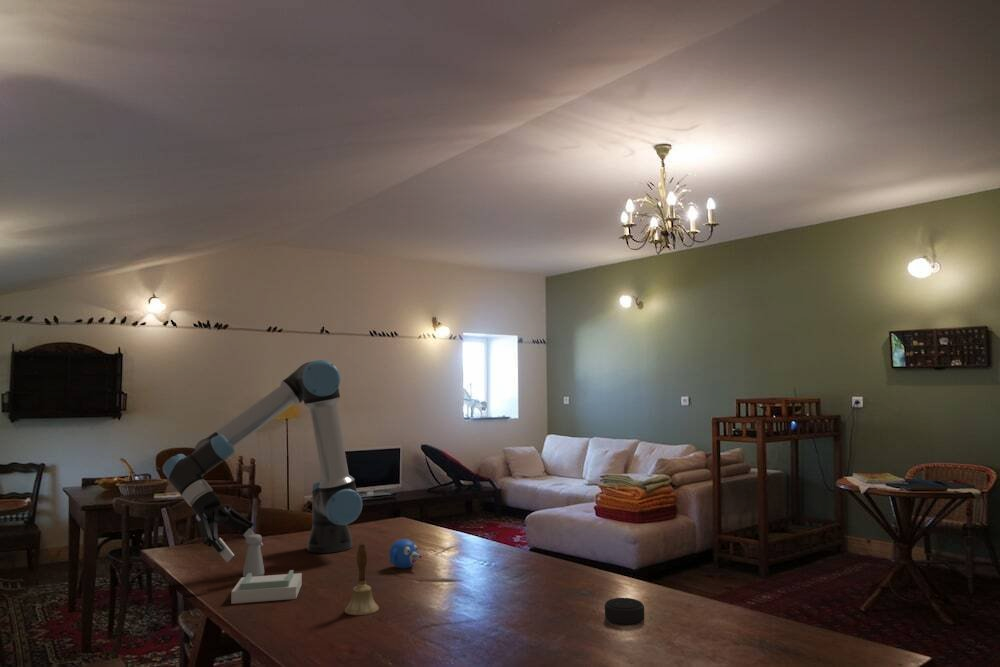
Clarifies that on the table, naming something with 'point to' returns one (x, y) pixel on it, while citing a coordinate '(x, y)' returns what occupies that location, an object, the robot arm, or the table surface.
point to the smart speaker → (624, 611)
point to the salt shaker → (254, 556)
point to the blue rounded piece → (404, 553)
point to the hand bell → (361, 589)
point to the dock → (267, 588)
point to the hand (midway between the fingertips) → (246, 553)
